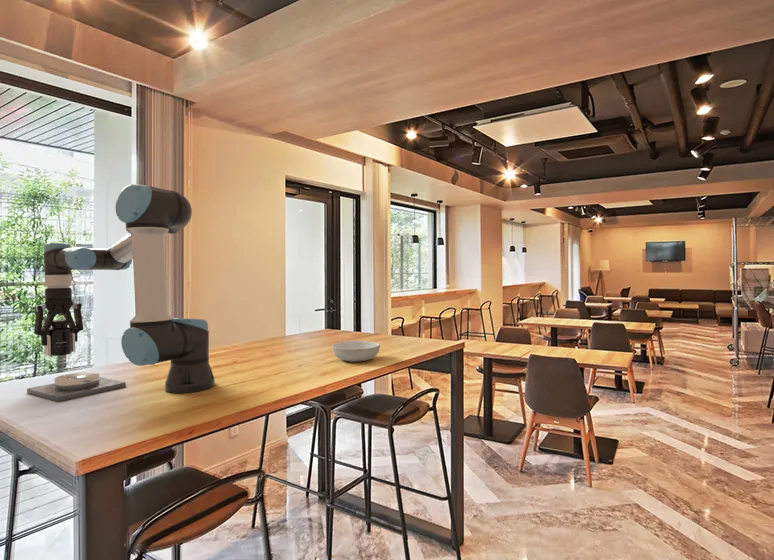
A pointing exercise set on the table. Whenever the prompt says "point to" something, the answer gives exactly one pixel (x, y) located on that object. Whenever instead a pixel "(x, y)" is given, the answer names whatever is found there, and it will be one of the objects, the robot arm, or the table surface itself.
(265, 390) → the table surface
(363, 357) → the serving bowl
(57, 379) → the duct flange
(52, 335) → the supplement bottle
